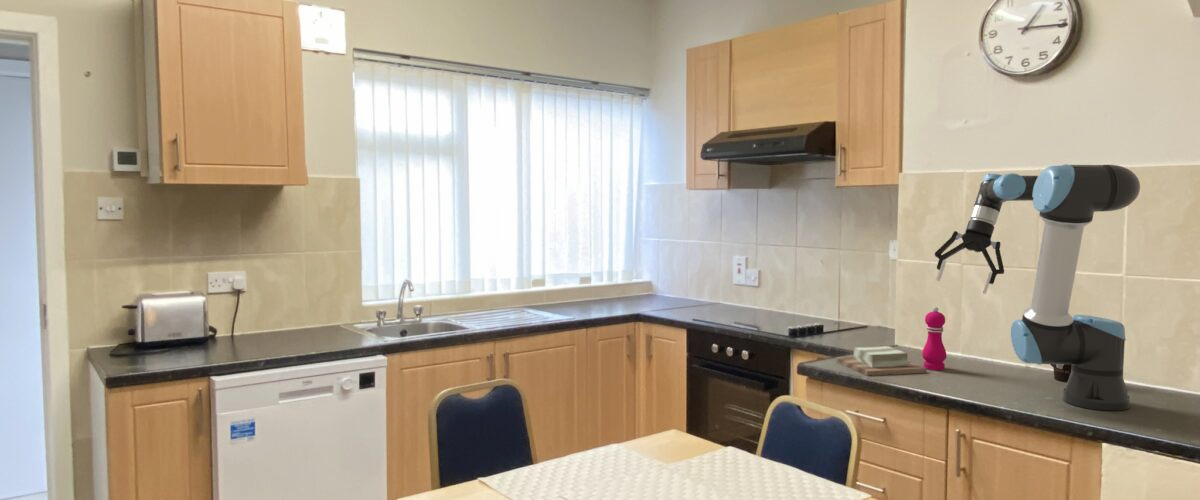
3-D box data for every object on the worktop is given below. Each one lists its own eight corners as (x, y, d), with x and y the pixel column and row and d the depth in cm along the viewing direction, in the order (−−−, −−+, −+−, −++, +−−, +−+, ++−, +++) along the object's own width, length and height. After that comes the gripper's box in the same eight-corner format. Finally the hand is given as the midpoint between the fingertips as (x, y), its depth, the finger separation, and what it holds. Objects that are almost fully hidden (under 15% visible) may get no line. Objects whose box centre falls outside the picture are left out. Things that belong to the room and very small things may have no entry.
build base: (925, 372, 239) (926, 355, 238) (866, 375, 236) (867, 358, 235) (891, 359, 259) (891, 343, 258) (836, 361, 255) (836, 345, 255)
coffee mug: (1090, 383, 224) (1091, 350, 223) (1060, 383, 224) (1061, 350, 224) (1066, 374, 236) (1068, 342, 235) (1038, 374, 236) (1039, 342, 235)
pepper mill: (917, 366, 248) (918, 305, 246) (938, 365, 249) (939, 305, 247) (929, 371, 241) (930, 308, 239) (950, 370, 242) (952, 308, 240)
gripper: (1025, 235, 235) (1004, 300, 234) (941, 215, 247) (920, 277, 246) (1026, 230, 228) (1004, 296, 227) (939, 209, 241) (918, 272, 240)
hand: (960, 286), depth 237 cm, fingers open, 13 cm apart
